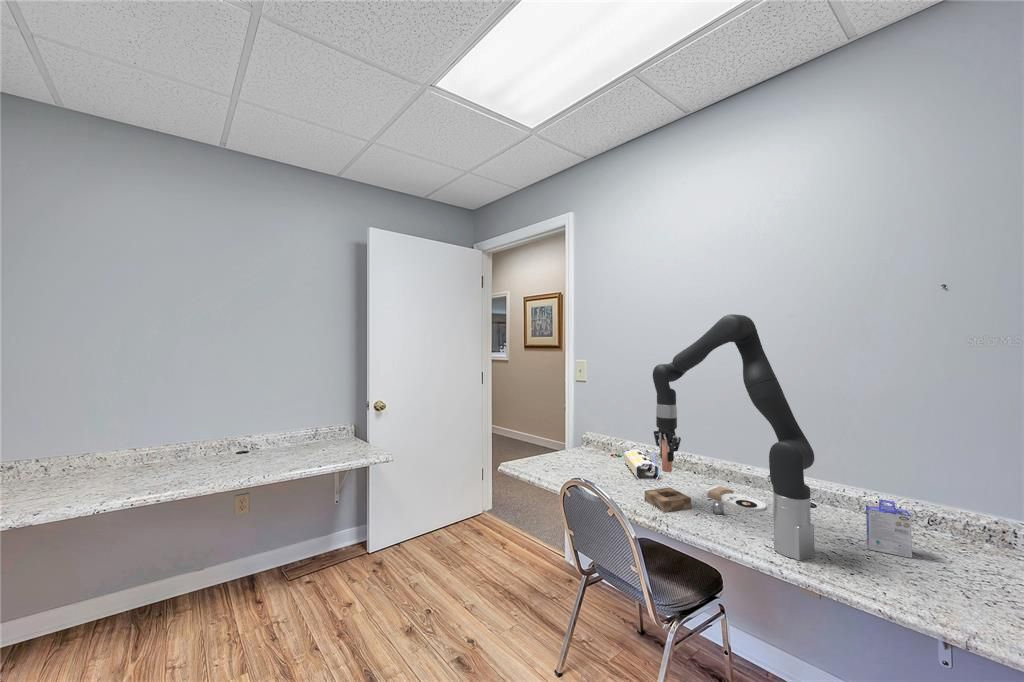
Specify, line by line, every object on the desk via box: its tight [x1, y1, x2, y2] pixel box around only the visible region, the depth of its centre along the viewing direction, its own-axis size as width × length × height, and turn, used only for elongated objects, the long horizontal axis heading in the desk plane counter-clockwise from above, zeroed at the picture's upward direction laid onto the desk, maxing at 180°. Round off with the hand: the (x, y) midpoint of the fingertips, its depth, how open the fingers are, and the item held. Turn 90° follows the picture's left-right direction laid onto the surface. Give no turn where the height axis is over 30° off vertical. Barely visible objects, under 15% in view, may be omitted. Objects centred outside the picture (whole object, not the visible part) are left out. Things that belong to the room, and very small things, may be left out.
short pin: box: [712, 500, 725, 516], centre depth 152 cm, size 4×4×4 cm
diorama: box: [623, 448, 660, 481], centre depth 202 cm, size 25×10×13 cm, turn 177°
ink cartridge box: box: [865, 498, 913, 559], centre depth 125 cm, size 10×6×14 cm, turn 58°
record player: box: [705, 485, 767, 512], centre depth 163 cm, size 12×3×20 cm
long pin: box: [661, 439, 673, 473], centre depth 161 cm, size 4×4×12 cm
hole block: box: [644, 487, 692, 513], centre depth 161 cm, size 12×12×4 cm
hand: (666, 459), depth 161 cm, fingers closed on long pin, 3 cm apart
